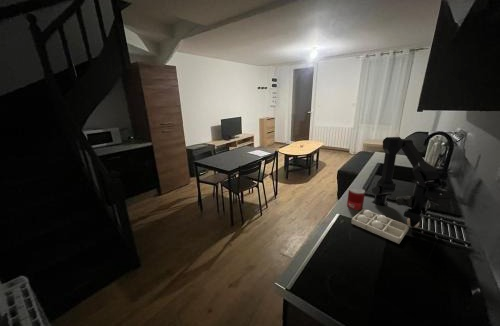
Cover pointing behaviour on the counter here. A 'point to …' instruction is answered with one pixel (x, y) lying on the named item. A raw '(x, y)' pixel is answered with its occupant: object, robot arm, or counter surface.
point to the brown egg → (409, 223)
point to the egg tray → (389, 231)
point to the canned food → (355, 198)
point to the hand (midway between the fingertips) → (413, 224)
